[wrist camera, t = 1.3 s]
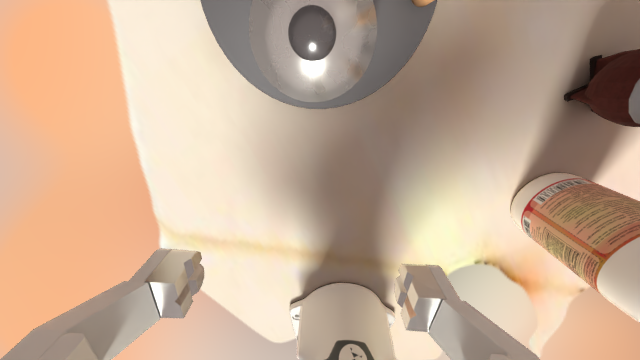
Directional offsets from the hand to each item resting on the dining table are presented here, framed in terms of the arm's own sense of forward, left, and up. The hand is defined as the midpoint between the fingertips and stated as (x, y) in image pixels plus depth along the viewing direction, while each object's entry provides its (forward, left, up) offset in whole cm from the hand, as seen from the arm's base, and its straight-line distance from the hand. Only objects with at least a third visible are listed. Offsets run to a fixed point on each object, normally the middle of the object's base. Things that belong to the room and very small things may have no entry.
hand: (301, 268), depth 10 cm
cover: (+10, +1, -19) cm, 22 cm away
